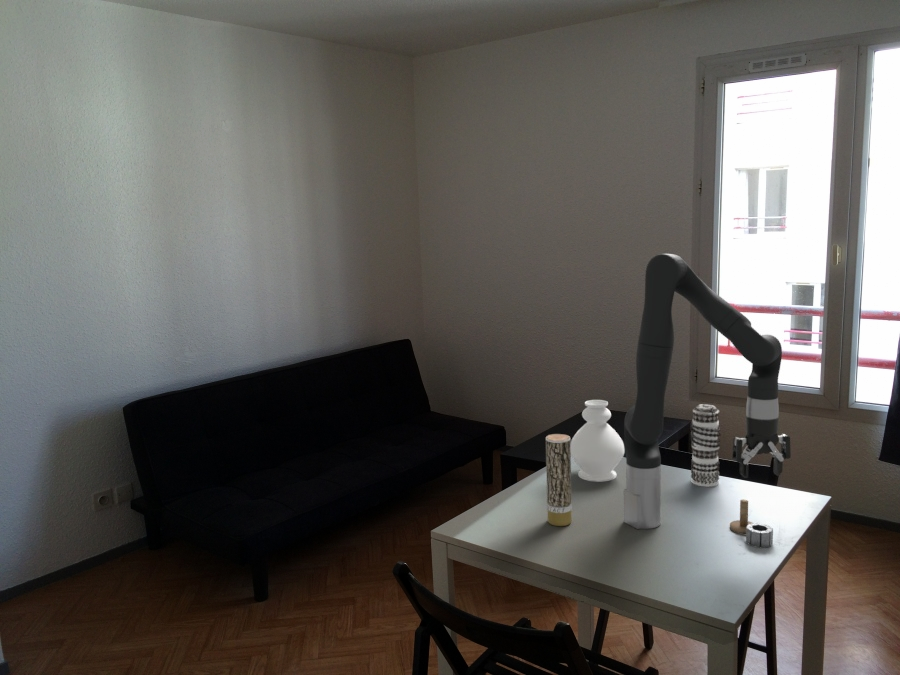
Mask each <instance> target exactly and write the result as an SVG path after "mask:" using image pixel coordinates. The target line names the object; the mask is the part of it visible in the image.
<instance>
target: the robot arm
mask: <svg viewBox="0 0 900 675" xmlns="http://www.w3.org/2000/svg"><path fill="white" fill-rule="evenodd" d="M644 275H645V278H644V280H645V281H644V283H645V284H644V303H643V310H642V316H641V322H640V330H639V334H638V340H637V348H636V353H635V354H636V355H635V373H636V383H637V384H636V386H637V388H636V390H637V391H636V398H635V404H634V405H633V406H632V407H630V408H629V409H628V410H627V412H626V413H625V417H624V422H623V423H624V424H623V426H624V427H623V430H624V433H623V434H624V436H623V437H624V454H625V459H626V466H625V467H626V473H625V474H626V476H625V477H626V489H623V522H624V523H625V524H627V525H629V526H631V527H632V528H635V529H637V530H640V529H654V528H657V527H659V526H660V525H661V518H662V517H661V509H662V508H661V507H662V506H661V505H662V503H661V500H662V499H661V495H662V490H661V489H662V488H661V487H662V486H661V484H662V483H661V482H662V481H661V480H662V479H661V478H662V477H661V475H662V473H661V472H662V467H661V466H662V465H661V464H662V463H661V462H662V456H661V452H660V448H659V439H660V437H661V436H662V433H663V432H664V431H663V430H664V418H665V416H664V414H665V412H664V411H665V396H666V389H667V385H668V380H669V375H670V371H671V370H670V369H671V364H672V358H673V352H674V345H675V332H674V325H673V315H672V314H673V313H672V311H673V310H672V308H673V301H674V296H675V293H677V294H679V295H680V296H682V297H683V298H684V299H685V300H687V301H688V302H689V303H690V304H691V305H692V306H693V307H694V308H695V309H696V310H697V312H699V314H700V315H701V317H703V318H704V320H705V321H706V322H708V324H709V325H711V327H713V329H715V330H716V331H717V332H718V333H720V334H721V335H722V336H724V338H726V339H728V340H729V341H730V343H731V344H732V345H733V347H735V349H736V350H737V351H738V352H739V354H740V355H741V356H742V357H743V358H744V359H745V360H747V361H748V362H749V363H751V366H752V368H751V372H750V374H749V377H748V380H747V400H746V406H745V407H746V408H745V410H746V412H745V414H746V415H745V432H746V435H745V436H744V437H737V436H735V437H733V440H732V441H733V442H732V454H731V455H732V456H731V458H732V460H734V461H735V462H737V463H739V474H740V475H741V477H742V478H745V479H748V478H749V466H750V465H749V462H750V461H751V459H753V458H754V457H755V455H762V454H766V455H769V454H771V455H772V456H773V457H774V459H773V469H772V470H773V471H772V472H773V474H774V475H776V476H777V477H779V476H781V475H782V472H783V466H784V465H783V462H784V460H786V459H789V460H790V459H791V437H790V436H789V435H787V434H785V433H781V434H780V435H778V433H779V418H780V417H779V414H780V413H779V412H780V410H779V408H780V407H779V405H780V404H779V375H780V370H781V364H782V357H783V356H782V355H783V349H782V343H781V342H780V340H779V339H778V337H776V336H774V335H772V334H762V335H761V334H760V333H759V332H758V331H757V330H756V329H755V328H753V327H752V323H751V321H750V320H749V319H748V317H746V316H745V315H744V314H742V313H741V312H740V311H739V310H738V309H737V308H735V307H734V306H733V305H731V304H730V303H729V302H728V301H727V300H725V299H724V298H723V297H722V296H720V295H719V294H717V292H715V291H714V290H713V289H712V288H710V287H709V285H708V284H706V283H705V281H703V280H702V279H701V278H700V277H699V276H698V275H697V274H696V273H695V271H694V270H693V269H692V268H691V267H690V265H688V263H687V262H686V261H685V260H684V259H683V258H682V257H681V256H679V255H677V254H674V253H659V254H656V255H655V256H653V257H652V258H650V260H649V261H648V263H647V265H646V268H645V274H644ZM778 443H780V451H779V450H778V449H777V447H776V446H777V445H778ZM745 445H746V446H745ZM744 446H745V448H744V449H743V447H744Z"/></svg>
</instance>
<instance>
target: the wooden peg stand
mask: <svg viewBox="0 0 900 675" xmlns="http://www.w3.org/2000/svg"><path fill="white" fill-rule="evenodd" d="M739 502H740V503H739V520H733V521H731V522H730V523H729V529H730V530H731V532H734V533H736V534H740V535H746V527H747V526H748V524H752V523H753V521H749V500H748V499H740V500H739Z"/></svg>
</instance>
